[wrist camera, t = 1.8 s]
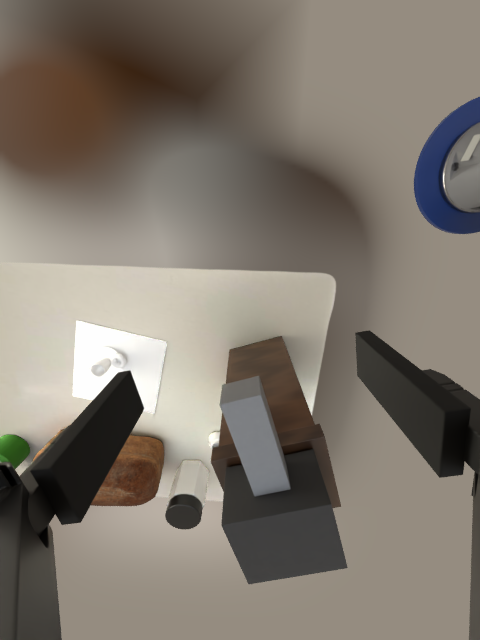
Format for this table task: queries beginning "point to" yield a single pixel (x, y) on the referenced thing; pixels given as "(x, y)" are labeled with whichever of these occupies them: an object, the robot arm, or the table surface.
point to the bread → (131, 473)
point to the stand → (275, 409)
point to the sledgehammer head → (274, 496)
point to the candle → (13, 450)
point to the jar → (187, 495)
